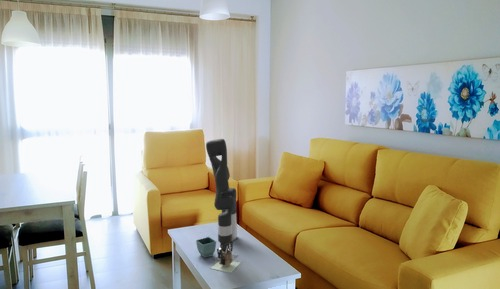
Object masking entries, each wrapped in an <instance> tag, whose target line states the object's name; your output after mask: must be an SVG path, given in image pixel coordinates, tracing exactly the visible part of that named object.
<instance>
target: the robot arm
mask: <svg viewBox="0 0 500 289" xmlns="http://www.w3.org/2000/svg"><path fill="white" fill-rule="evenodd" d="M227 148H228V147H227V143H226V140H225V139H224V138H218V139H210V140H208V141H207V142H206V143H205V149H206V153H207V156H208V158H209V161H210V165H211V168H212V169H211V170H212V173H213V177H214V182H215V184H214V185H215V198H214V209H215V210H216V211H221V213H219V214H218V215H217V216H218V217H217V220H218V221H217V222H218V223H217V237H218V238H217V240H218V242H219V244H220V245H219V248H216V252H217V256H218V258H220V259H221V265H225V255H226V253H227V251H229V252H232V253H233V250H234V249H233V247H234V241H235V240H237V237H238V229H237V228H238V226H237V225H238V224H237V190H236V188H235V187H230V184H229V180H230V170H229V167H228V149H227ZM219 156H221V158H220V159H221V160H220V159H219V158H218V157H219ZM222 251H223V252H222ZM224 252H225V253H224ZM223 254H224V256H223Z"/></svg>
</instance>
